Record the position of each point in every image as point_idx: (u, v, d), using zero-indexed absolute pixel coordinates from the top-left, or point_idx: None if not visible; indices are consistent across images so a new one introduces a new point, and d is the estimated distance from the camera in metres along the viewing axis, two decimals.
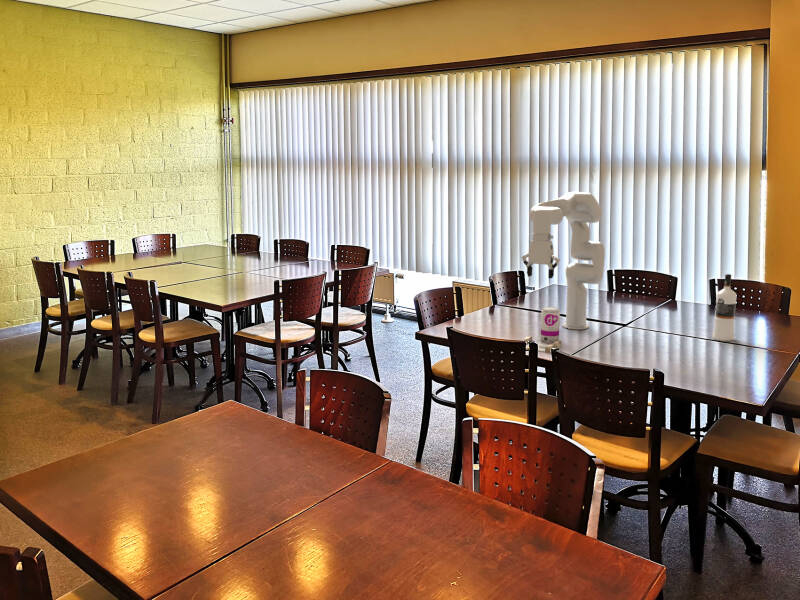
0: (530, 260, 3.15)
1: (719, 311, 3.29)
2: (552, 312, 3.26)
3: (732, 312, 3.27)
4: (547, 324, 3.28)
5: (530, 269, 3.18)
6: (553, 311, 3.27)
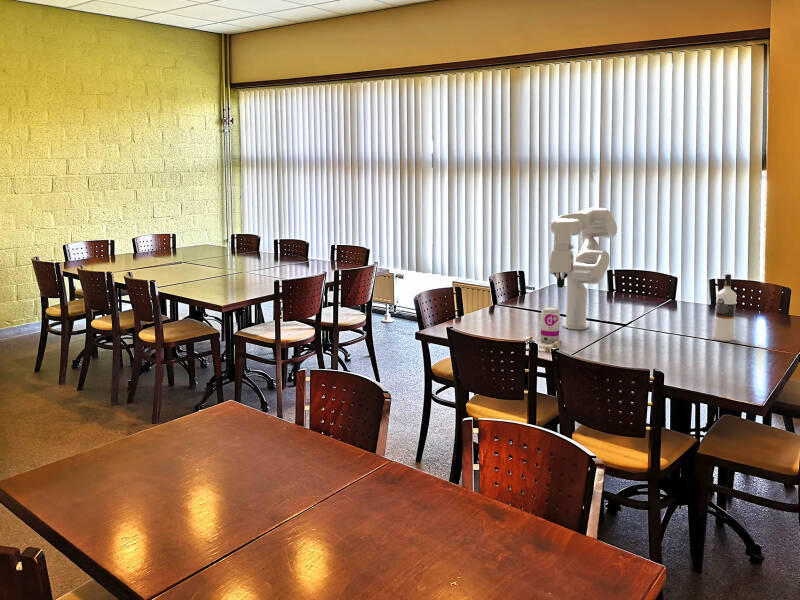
0: (551, 269, 3.36)
1: (719, 311, 3.29)
2: (552, 312, 3.26)
3: (732, 312, 3.27)
4: (547, 324, 3.28)
5: None
6: (553, 311, 3.27)
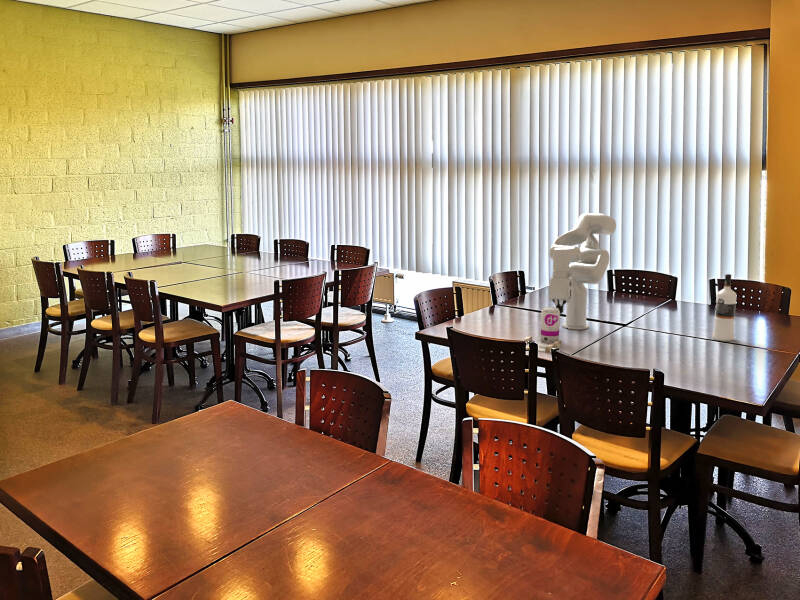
0: (550, 295, 3.38)
1: (719, 311, 3.29)
2: (552, 312, 3.26)
3: (732, 312, 3.27)
4: (547, 324, 3.28)
5: None
6: (553, 311, 3.27)
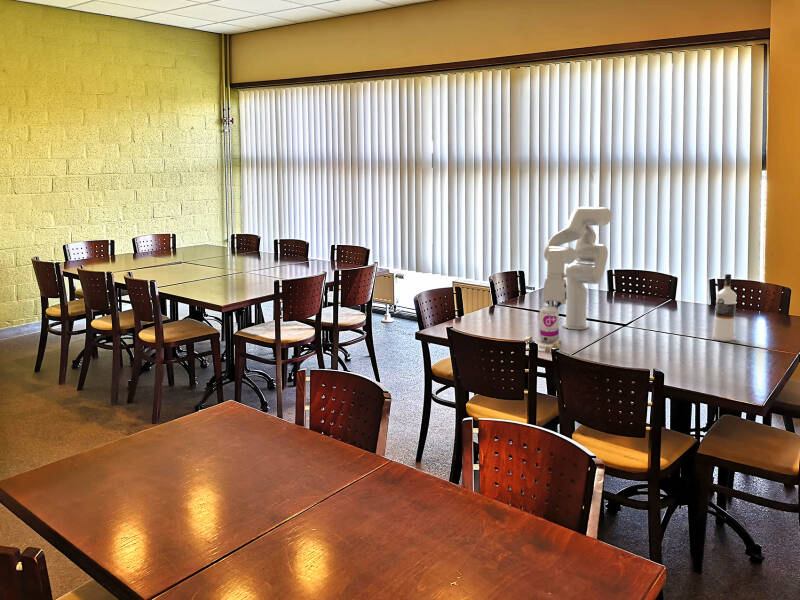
0: (544, 297, 3.33)
1: (719, 311, 3.29)
2: (550, 313, 3.24)
3: (732, 312, 3.27)
4: (546, 324, 3.26)
5: None
6: (551, 312, 3.25)
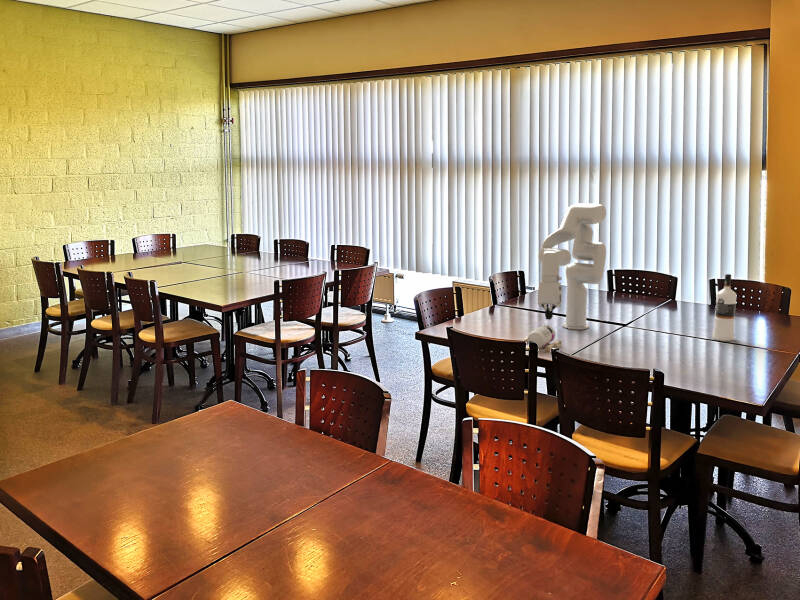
0: (539, 300, 3.28)
1: (719, 311, 3.29)
2: (539, 348, 3.17)
3: (732, 312, 3.27)
4: None
5: None
6: (540, 347, 3.16)
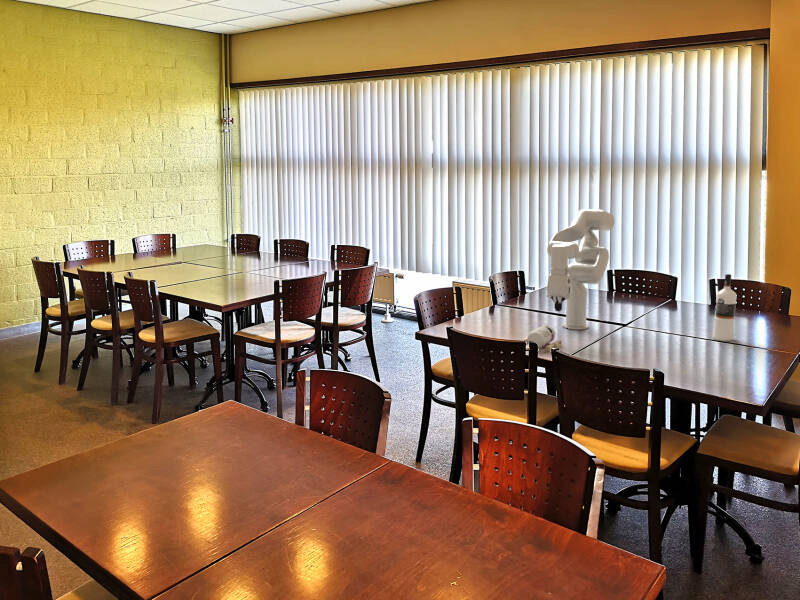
0: (549, 292, 3.36)
1: (719, 311, 3.29)
2: (539, 348, 3.17)
3: (732, 312, 3.27)
4: None
5: None
6: (540, 347, 3.16)
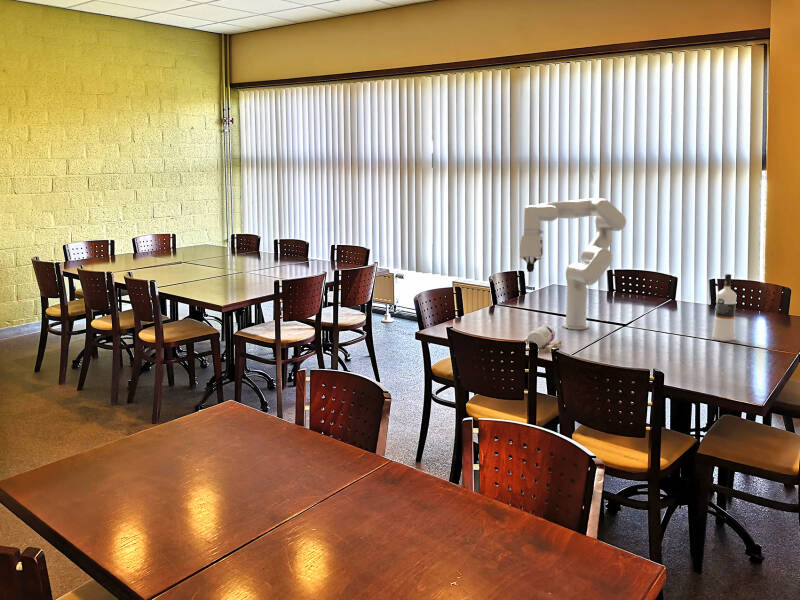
0: (521, 253, 3.41)
1: (719, 311, 3.29)
2: (539, 348, 3.17)
3: (732, 312, 3.27)
4: None
5: None
6: (540, 347, 3.16)
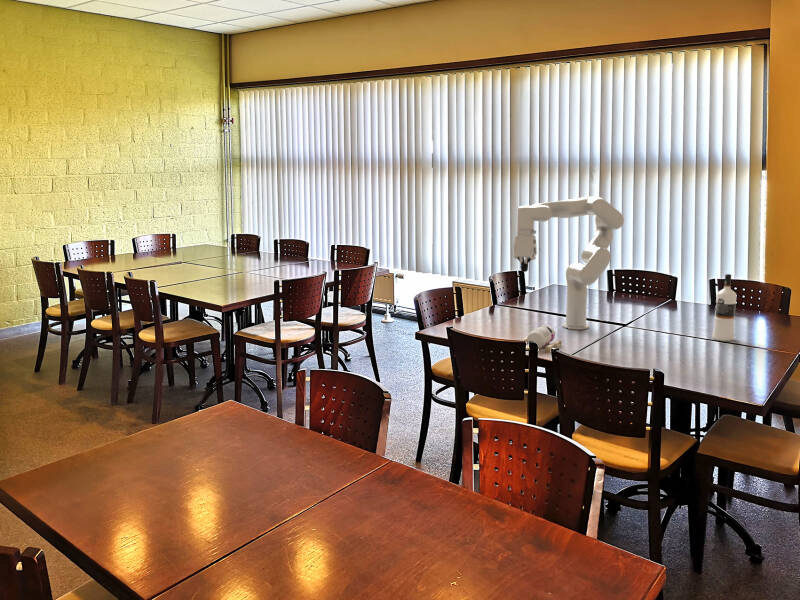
0: (515, 253, 3.44)
1: (719, 311, 3.29)
2: (539, 348, 3.17)
3: (732, 312, 3.27)
4: None
5: None
6: (540, 347, 3.16)
